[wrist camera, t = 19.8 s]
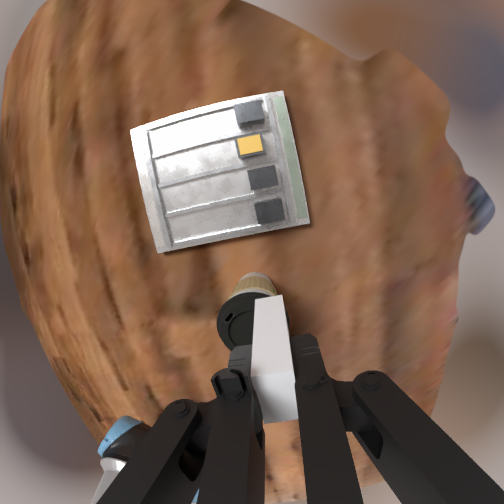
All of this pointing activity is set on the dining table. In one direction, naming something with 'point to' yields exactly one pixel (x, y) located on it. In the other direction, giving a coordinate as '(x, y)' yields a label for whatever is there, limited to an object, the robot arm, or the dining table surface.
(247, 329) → the coffee cup
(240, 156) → the toggle
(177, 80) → the dining table surface
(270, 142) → the panel
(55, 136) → the dining table surface
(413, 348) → the dining table surface
